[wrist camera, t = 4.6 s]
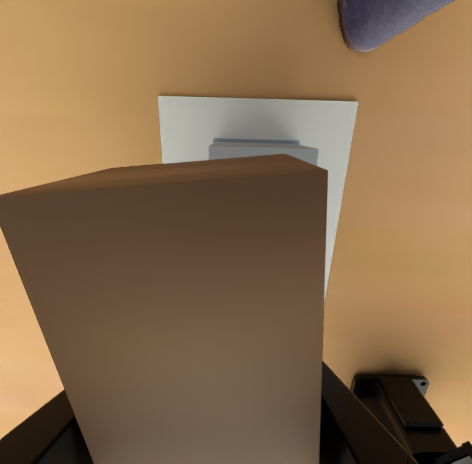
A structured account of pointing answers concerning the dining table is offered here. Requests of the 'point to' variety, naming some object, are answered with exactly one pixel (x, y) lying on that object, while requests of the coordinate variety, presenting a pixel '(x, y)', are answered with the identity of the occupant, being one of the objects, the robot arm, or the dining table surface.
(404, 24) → the flask
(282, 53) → the dining table surface
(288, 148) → the tilted pale grey prism
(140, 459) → the lintel
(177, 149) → the white flat rectangular plate
